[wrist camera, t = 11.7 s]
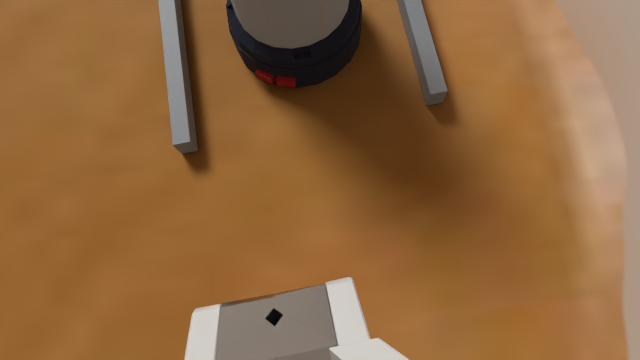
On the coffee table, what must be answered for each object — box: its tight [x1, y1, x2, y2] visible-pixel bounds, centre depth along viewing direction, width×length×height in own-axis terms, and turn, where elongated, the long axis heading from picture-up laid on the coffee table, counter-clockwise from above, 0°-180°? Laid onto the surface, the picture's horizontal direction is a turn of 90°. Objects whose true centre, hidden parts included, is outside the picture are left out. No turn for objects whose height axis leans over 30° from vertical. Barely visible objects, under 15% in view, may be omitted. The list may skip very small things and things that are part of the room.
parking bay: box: [159, 0, 448, 154], centre depth 30 cm, size 16×15×2 cm
